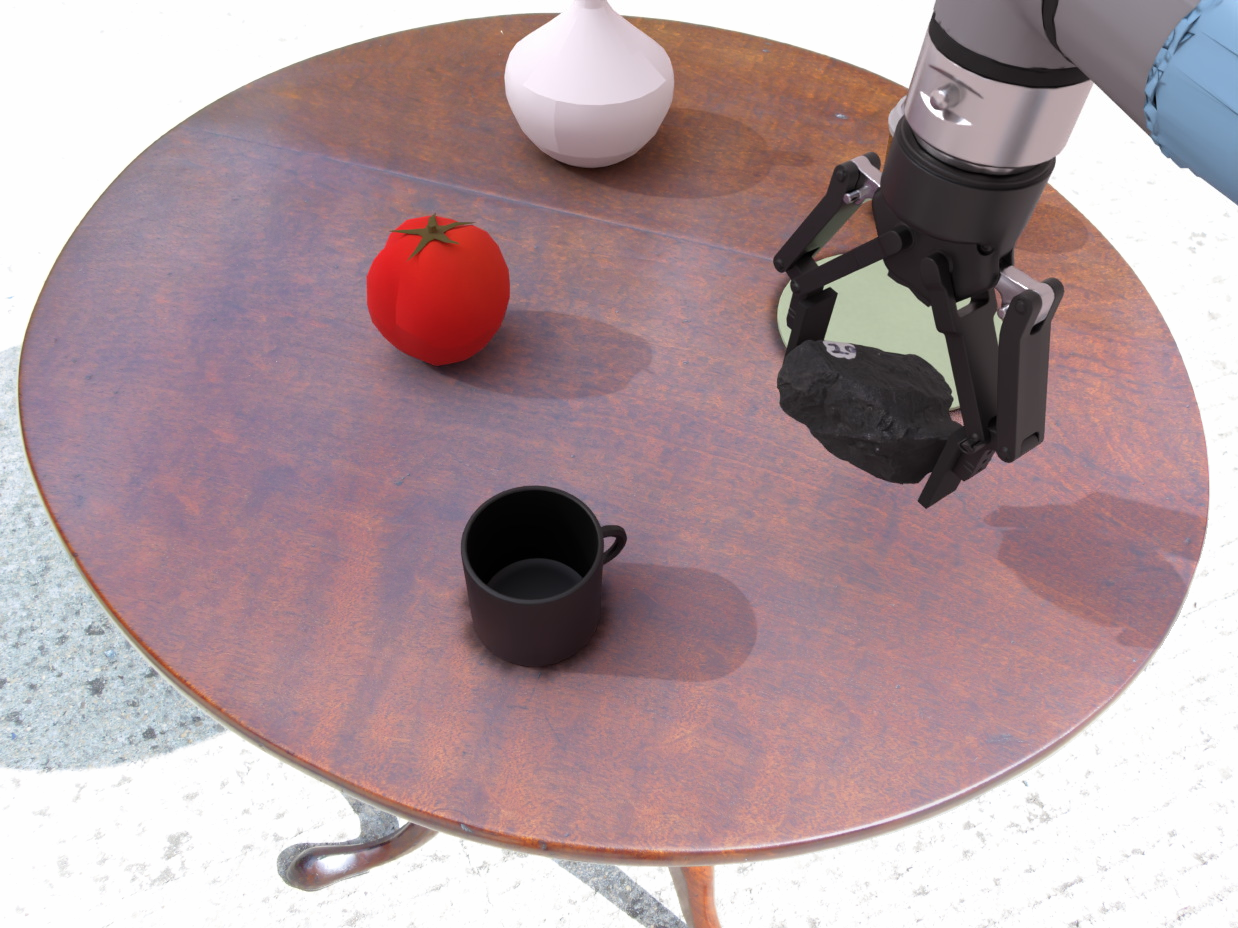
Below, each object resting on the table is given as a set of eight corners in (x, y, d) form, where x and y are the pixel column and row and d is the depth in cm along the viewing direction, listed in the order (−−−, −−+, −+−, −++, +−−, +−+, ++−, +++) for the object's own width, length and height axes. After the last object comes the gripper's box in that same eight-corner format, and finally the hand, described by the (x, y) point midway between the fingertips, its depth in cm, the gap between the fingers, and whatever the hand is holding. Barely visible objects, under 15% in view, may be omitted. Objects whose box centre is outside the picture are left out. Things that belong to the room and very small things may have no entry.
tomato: (367, 319, 86) (339, 200, 75) (494, 292, 89) (484, 173, 79) (394, 407, 79) (368, 289, 69) (531, 374, 82) (525, 256, 72)
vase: (654, 98, 112) (667, -71, 97) (681, 187, 101) (700, 12, 86) (503, 103, 110) (493, -69, 95) (513, 195, 99) (503, 16, 84)
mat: (1057, 354, 87) (1059, 351, 86) (890, 450, 78) (892, 447, 78) (892, 230, 98) (893, 227, 97) (730, 302, 89) (731, 299, 89)
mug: (654, 620, 67) (664, 552, 60) (503, 690, 63) (495, 627, 56) (594, 525, 72) (597, 453, 65) (451, 585, 68) (438, 515, 61)
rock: (769, 380, 63) (786, 317, 58) (917, 386, 63) (945, 324, 58) (782, 486, 57) (801, 425, 53) (944, 492, 58) (977, 433, 53)
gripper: (751, 40, 48) (703, 340, 65) (1153, 311, 36) (965, 592, 53) (855, 6, 51) (784, 301, 67) (1259, 246, 39) (1049, 532, 56)
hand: (863, 429), depth 60 cm, fingers closed on rock, 12 cm apart
